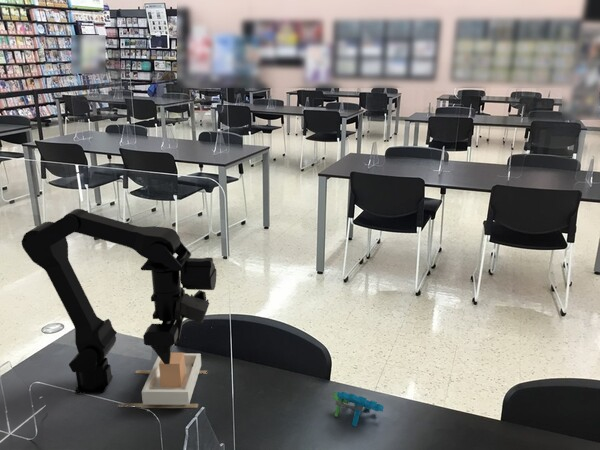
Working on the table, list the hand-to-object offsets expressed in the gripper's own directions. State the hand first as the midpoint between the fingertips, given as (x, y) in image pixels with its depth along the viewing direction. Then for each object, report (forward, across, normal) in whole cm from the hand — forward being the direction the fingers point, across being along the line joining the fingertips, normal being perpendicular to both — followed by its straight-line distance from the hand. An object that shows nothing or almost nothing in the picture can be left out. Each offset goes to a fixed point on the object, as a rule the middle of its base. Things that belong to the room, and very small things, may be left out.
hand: (172, 352), depth 113 cm
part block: (+8, 0, 0) cm, 8 cm away
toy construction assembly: (+10, -9, -40) cm, 43 cm away
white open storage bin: (+10, 0, 0) cm, 10 cm away
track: (+10, 0, +2) cm, 10 cm away
